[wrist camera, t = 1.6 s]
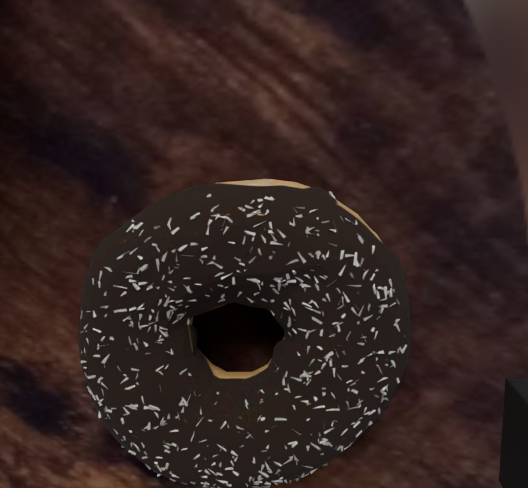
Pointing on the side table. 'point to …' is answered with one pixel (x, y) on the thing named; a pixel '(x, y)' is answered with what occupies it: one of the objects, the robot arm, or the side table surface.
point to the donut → (253, 295)
